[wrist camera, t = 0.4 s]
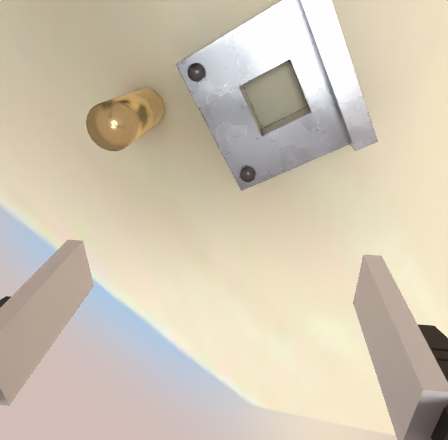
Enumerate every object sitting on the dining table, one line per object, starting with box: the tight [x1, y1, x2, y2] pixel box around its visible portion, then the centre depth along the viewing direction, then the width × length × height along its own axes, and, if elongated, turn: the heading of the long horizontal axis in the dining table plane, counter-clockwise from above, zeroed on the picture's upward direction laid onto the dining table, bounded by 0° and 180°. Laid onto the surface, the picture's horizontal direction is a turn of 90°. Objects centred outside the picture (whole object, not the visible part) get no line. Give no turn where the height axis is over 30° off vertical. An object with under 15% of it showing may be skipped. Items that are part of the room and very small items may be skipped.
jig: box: [176, 0, 378, 191], centre depth 33 cm, size 14×14×6 cm
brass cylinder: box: [86, 88, 165, 151], centre depth 33 cm, size 4×4×10 cm
